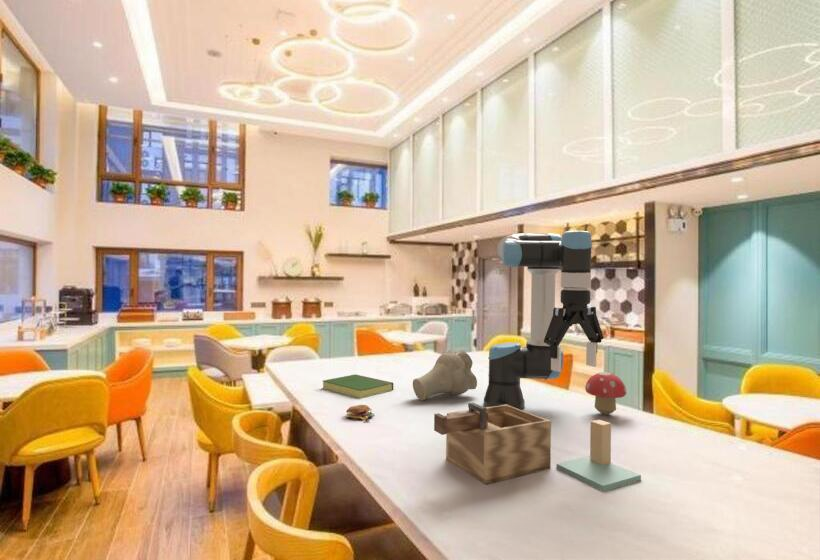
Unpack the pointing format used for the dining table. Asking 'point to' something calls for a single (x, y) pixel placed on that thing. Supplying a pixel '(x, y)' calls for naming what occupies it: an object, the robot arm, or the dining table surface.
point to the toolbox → (501, 444)
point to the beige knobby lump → (447, 376)
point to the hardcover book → (358, 385)
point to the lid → (599, 462)
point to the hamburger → (359, 412)
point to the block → (457, 422)
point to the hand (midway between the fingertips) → (573, 368)
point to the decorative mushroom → (605, 391)
